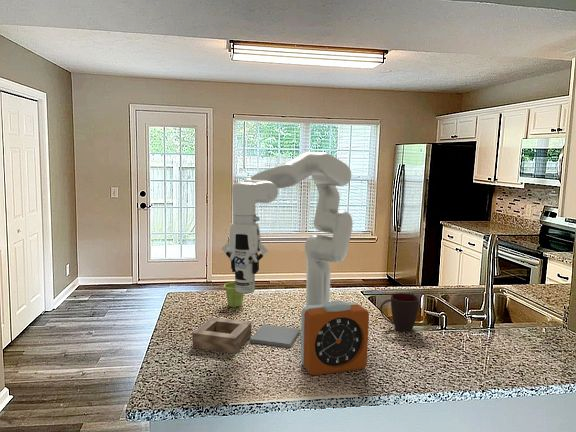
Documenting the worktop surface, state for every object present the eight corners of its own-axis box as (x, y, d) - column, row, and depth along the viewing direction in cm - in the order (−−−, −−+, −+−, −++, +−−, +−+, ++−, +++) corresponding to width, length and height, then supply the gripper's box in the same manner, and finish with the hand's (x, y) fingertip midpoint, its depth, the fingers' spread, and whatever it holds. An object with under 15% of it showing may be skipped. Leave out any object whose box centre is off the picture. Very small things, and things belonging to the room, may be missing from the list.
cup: (420, 334, 162) (422, 302, 161) (381, 333, 163) (383, 301, 161) (413, 324, 172) (415, 293, 170) (376, 323, 172) (378, 292, 171)
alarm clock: (309, 377, 130) (310, 308, 127) (299, 363, 138) (301, 298, 135) (367, 369, 135) (370, 303, 132) (355, 356, 143) (357, 294, 140)
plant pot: (220, 307, 187) (219, 287, 186) (229, 300, 196) (229, 281, 195) (240, 309, 184) (240, 289, 183) (249, 302, 193) (249, 283, 192)
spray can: (231, 292, 152) (230, 233, 149) (242, 286, 158) (241, 230, 154) (247, 295, 148) (247, 235, 145) (258, 289, 154) (258, 232, 151)
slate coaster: (299, 331, 163) (300, 328, 162) (289, 347, 149) (289, 344, 149) (262, 327, 166) (263, 324, 166) (249, 342, 153) (250, 338, 153)
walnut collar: (251, 335, 158) (251, 321, 158) (235, 353, 144) (235, 338, 143) (211, 330, 162) (211, 317, 162) (192, 347, 148) (192, 332, 147)
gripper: (272, 219, 151) (272, 271, 153) (224, 216, 155) (225, 267, 158) (265, 222, 143) (265, 277, 146) (215, 220, 148) (216, 273, 151)
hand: (245, 271), depth 152 cm, fingers closed on spray can, 6 cm apart
